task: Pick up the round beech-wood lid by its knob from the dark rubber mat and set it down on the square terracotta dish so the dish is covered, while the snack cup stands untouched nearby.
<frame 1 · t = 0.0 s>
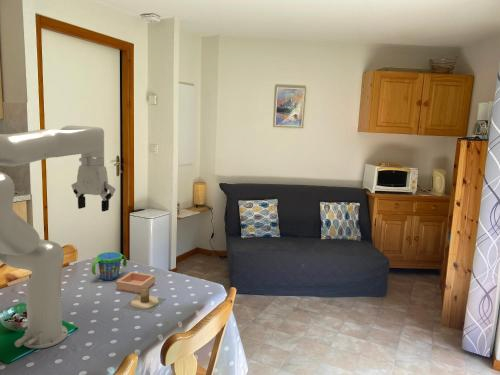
hand: (93, 209, 136), 37 cm above the table, tool pointing down, fingers open, 9 cm apart
dish: (135, 287, 159), on the table
snack cup: (109, 278, 167), on the table
lid: (144, 303, 145), resting on mat
mat: (144, 304, 145), on the table
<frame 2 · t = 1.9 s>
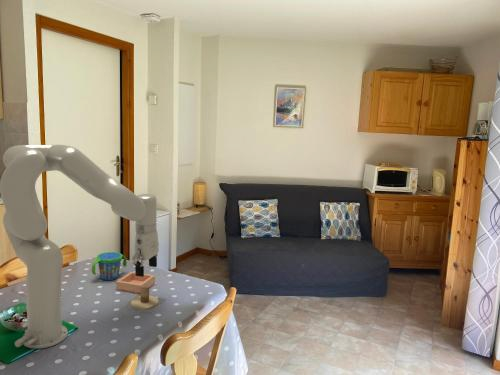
hand: (146, 271, 143), 13 cm above the table, tool pointing down, fingers open, 9 cm apart
nothing on the table moved.
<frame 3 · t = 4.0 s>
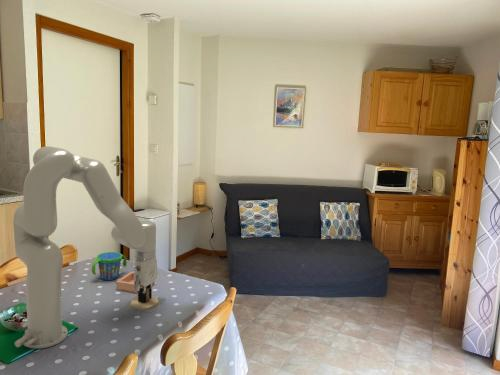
hand: (144, 299, 144), 2 cm above the table, tool pointing down, fingers closed on lid, 3 cm apart
lid: (144, 303, 145), resting on mat, touching gripper
everything else where it was.
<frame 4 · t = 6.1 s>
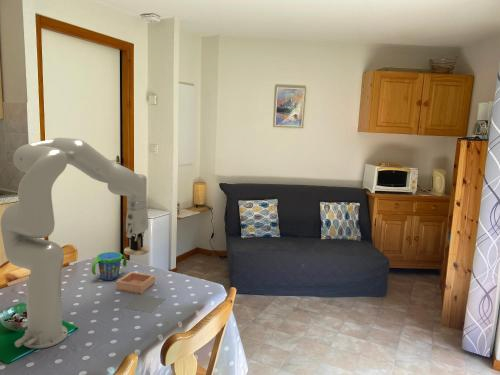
hand: (136, 247, 156), 17 cm above the table, tool pointing down, fingers closed on lid, 3 cm apart
lid: (136, 251, 156), point 16 cm above the table, touching gripper
everything else where it was.
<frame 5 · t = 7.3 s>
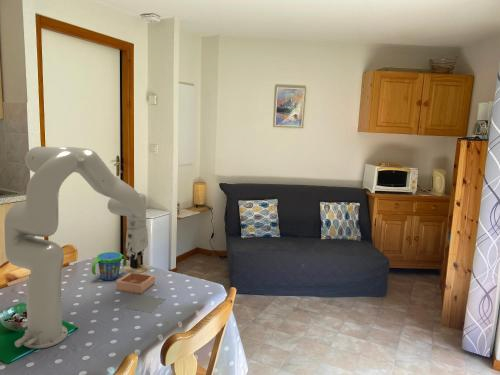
hand: (136, 265, 158), 9 cm above the table, tool pointing down, fingers closed on lid, 3 cm apart
lid: (136, 268, 158), point 8 cm above the table, touching gripper
everything else where it was.
when the fingers open (7 cm above the table, at t = 8.4 s): lid drops 1 cm, resting on dish.
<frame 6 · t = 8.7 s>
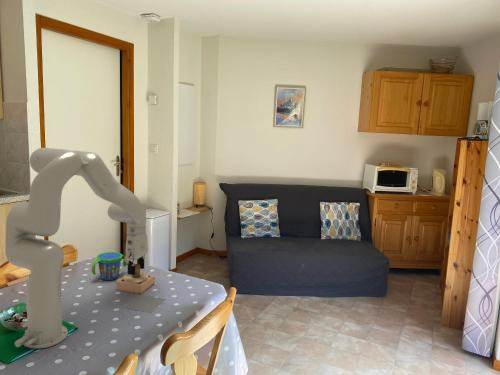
hand: (136, 271, 158), 7 cm above the table, tool pointing down, fingers open, 6 cm apart
lid: (136, 278, 158), point 4 cm above the table, touching dish
everything else where it was.
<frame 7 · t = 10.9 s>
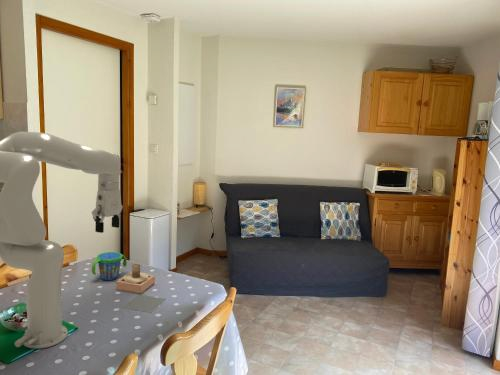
hand: (107, 229, 147), 27 cm above the table, tool pointing down, fingers open, 9 cm apart
nothing on the table moved.
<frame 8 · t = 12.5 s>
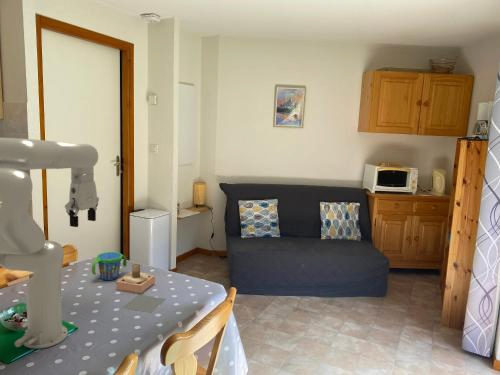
hand: (83, 223, 141), 30 cm above the table, tool pointing down, fingers open, 9 cm apart
nothing on the table moved.
at the end: lid 0.1 cm off-centre on the dish, point 4.0 cm above the dish's base; lid tilted 0°; the gripper is holding nothing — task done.
